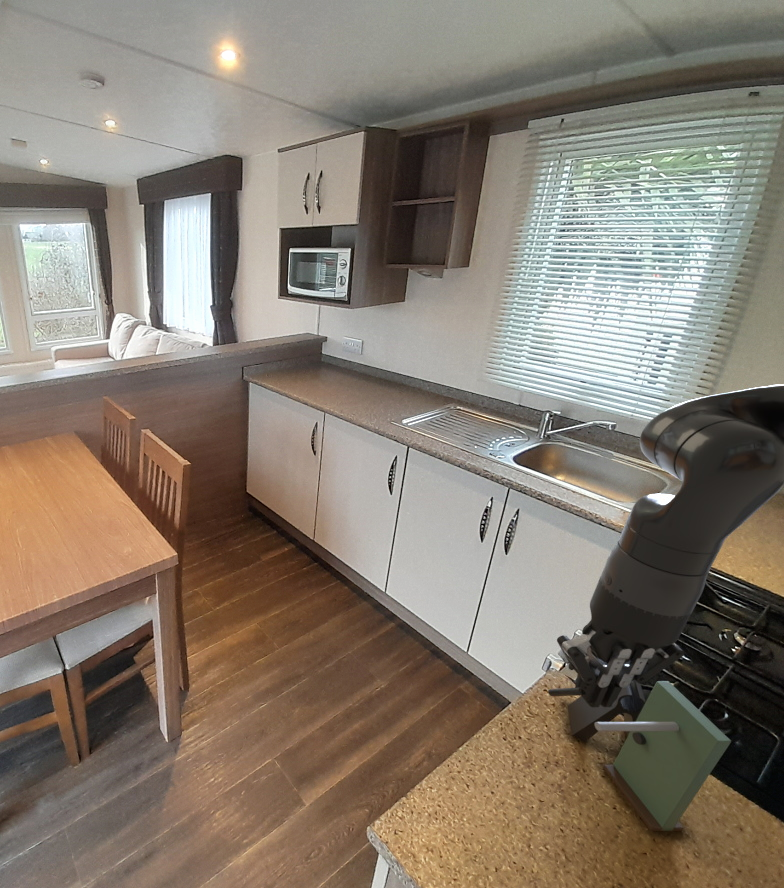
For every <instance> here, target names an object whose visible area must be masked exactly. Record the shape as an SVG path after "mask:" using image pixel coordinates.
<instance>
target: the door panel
mask: <svg viewBox="0 0 784 888" xmlns="http://www.w3.org/2000/svg"><path fill="white" fill-rule="evenodd" d="M645 701H646V703H645V705H644V707H643V709H642V711H641V712H640V714H639V716H638V718H637V720H636V722H624V721H610V722H595V728H596V729H597V730H598V732H625V731H630V733H629V735H628V737H627V739H626V738H625V741H624V742H623V744H622V746H621V748H620V751H619V752H618V755H617V756H616V758H615V760H614V761H613V764H603V766H602V769H603V770H604V771H605V773H606V774H607V775H608V776H609V778H610V779H611V780H612V782H613V783H614V784H615V786H616V787H617V788H618V790H619V792H621V793H622V795H623V797H624V798H625V799H626V800H627V802H629V804H630V805H631V807H632V808H633V809H634V811H635V812H636V814H637V815H638V816H639V818H640V819H641V820H642V821H643V822H644V824H645V825H646V826H647V828H648V829H649V830H650V831H651V832H665V831H666V832H682V831H683V830H684V826H683V825H682V823H680V820H681V818H682V817H683V815H684V814H685V812H686V811H687V809H688V808H689V807H690V805H691V803H692V801H693V800H694V798H695V797H696V795H697V794H698V792H699V791H700V790H701V788H702V786H703V785H704V783H705V781H707V779H708V777H709V776H710V775H711V773H712V771H713V770H714V768H715V767H716V766H717V764H718V762H719V761H720V759H721V758H722V757H723V755H724V753H725V752H726V751H727V749H728V747H729V746H730V744H731V743H732V740H731V739H730V737H728V736H727V735H725V733H724V732H723V731H722V730H720V728H718V727H717V726H716V725H715V724H714V723H713V722H712V721H711V720H710V719H709V718H708V717H707V716H706V715H705V714H704V713H703V712H701V710H699V709H698V708H697V707H696V706H695V705H694V704H693V703H692V702H691V701H690V700H689V699H688V698H687V697H686V696H684V694H683V693H681V692H680V690H679V689H677V688H676V687H675V686H674V685H673V684H672V683H671V682H670V681H669V680H658V681H655V684H654V686H653V688H652V690H651V691H650V693H649V695H648V697H647V699H646V700H645Z"/></svg>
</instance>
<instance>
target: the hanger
mask: <svg viewBox="0 0 784 888" xmlns="http://www.w3.org/2000/svg"><path fill="white" fill-rule="evenodd" d="M586 660H587V659H586ZM568 669H569V670H570V671H575V670H574V669H573V668H572V667H571V666H570V664H569V663H568ZM576 674H577V673H576ZM575 680H576V681H575V685H574V686H575V687H563V688H549V689H548V691H547V692H548V693H547V694H548V695H549V696H551V697H574V696H575V697H576V696H581V695H580V694H579V692H578V689H579V687H580V685H581V682H582V680H583V679H582V678H581V677H580V676H579V675H578V674H577V675H576V679H575Z"/></svg>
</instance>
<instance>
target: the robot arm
mask: <svg viewBox="0 0 784 888" xmlns="http://www.w3.org/2000/svg"><path fill="white" fill-rule="evenodd" d="M639 447H640V450H641V452H642V453H643V455H644V456H645V457H646V458H647V459H648V460H649V461H650V462H651V463H652V464H654V466H657V467H658V468H660V469H662V470H663V471H664V472H666V473H668V474H670V475H671V476H673V477H674V478H676V479H677V480H679V481H680V482H681V484H680V486H679V490H678V491H677V493H676V494H670V493H650V494H646V495H644V496H642V497H640V498H639V499H637V500H636V501H635V503H634V504H633V506H632V508H631V510H630V511H629V514H628V515H627V519H626V521H625V523H624V526H623V528H622V530H621V533H620V536H619V538H618V541H617V543H616V544H615V546H614V547H613V548H612V550H611V552H610V553H609V555H608V557H607V559H606V562H605V564H604V567H603V569H602V571H601V574H600V576H599V579H598V582H597V584H596V586H595V589H594V592H593V594H592V596H591V599H590V601H589V610H590V616H591V618H590V620H589V622H588V623H586V625H584V626H583V628H582V630H581V634H580V635H578V636H576V637H573V638H571V639H570V638H569V637H568V636H567V635H563V634H562V635H560V636H558V637H557V639H556V642H557V644H558V647H560V649H561V651H562V654H563V655H564V657H565V659H566V660H567V662H568V665H569V664H570V666H571V667H572V668H573V669H574V670H573V671H574V672H575V673H576V674H578V675H579V676H580V677H581V678H582V679H583V680H582V682H581V685H580V687H579V689H578V692H579V694H580V695H579V696H582V697H583V699H584V700H585V701H586V702H587V703H588V705H589V706H590V707H599V706H600V704H601V705H602V706H603V707H611V706H612V704H613V702H615V701H616V700H617V698H618V696H619V694H620V691H621V689H622V687H627V686H629V685H630V683H631V681H633V680H635V681H636V682H637V683H640V684H644V683H646V682H647V681H649V680H651V679H652V678H654V676H656V675H658V674H659V673H660V672H662V671H664V670H665V669H666V668H668V667H669V666H670V665H672V664H674V663H675V662H677V661H678V660H680V659H681V658H683V657H684V656H685V653H686V652H685V651H684V650H683V649H682V648H681V647H680V646H679V645H678V644H677V643H676V642H677V641H678V640H679V638H680V637H681V634H682V633H683V631H684V629H685V627H686V625H687V623H688V621H689V619H690V617H691V615H692V613H693V612H694V609H695V607H696V605H697V604H698V602H699V600H700V598H701V597H702V594H703V592H704V590H705V586H706V582H707V578H708V575H709V572H710V570H711V568H712V566H713V565H714V563H715V561H716V559H717V558H718V555H719V553H720V551H721V549H722V547H723V545H724V543H725V541H726V540H727V538H728V537H729V536H731V534H732V533H734V532H735V531H736V530H738V528H740V527H741V526H742V525H743V524H744V523H745V522H746V521H747V520H749V519H750V518H751V517H752V516H753V515H754V514H755V513H756V512H757V511H759V510H760V509H761V508H762V507H764V505H765V504H767V502H769V501H770V500H771V499H772V498H774V496H775V495H776V494H778V493H779V491H781V489H783V487H784V383H783V384H774V385H768V386H767V385H766V386H759V387H753V388H747V389H742V390H736V391H730V392H724V393H719V394H712V395H708V396H702V397H698V398H694V399H690V400H687V401H684V402H681V403H678V404H676V405H673V406H671V407H669V408H667V409H664V410H663V411H661V412H660V413H659V414H657V415H656V416H654V417H653V418H652V419H651V420H650V421H649V422H648V423H647V424H646V425H645V426H644V428H643V429H642V431H641V433H640V436H639ZM586 659H587V660H586ZM647 664H648V665H647ZM646 665H647V666H646ZM598 668H599V669H598Z"/></svg>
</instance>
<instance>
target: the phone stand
mask: <svg viewBox="0 0 784 888" xmlns="http://www.w3.org/2000/svg"><path fill="white" fill-rule="evenodd" d="M641 684H642V683H637V682H636V681H635V680H633V681H631V683H630V685H629V686H627V687H622V689H621V691H620V694H619V696H618V698H617V700H616V701H615V702H613V704H612V706H611V707H603V706H602V705H601V704H600V706H599V707H590V706H589V705H588V703H587V702H586V701H585V700H584V699H583V697H582V696H581V695H579V697H577V698H576V699H575V700H573V701H572V702H570V703H569V704H567V711H568V718H569V719H568V720H569V728H570V734H571V737H573V738H575V739H578V740H581V741H584V742H588V740H590V739H591V738H592V737H593V736H595V735H596V734H597V733H599V731H598V730H597V729H596V728H595V722H612V721H613V720H614V719H616V718H617V716H619V715H621V714H623V722H636V720H637V718H638V716H639V714H640V712H641V711H642V709H643V707H644V705H645V703H646V701H647V700H646V697H645V694H644V690H643V687H642V685H641ZM629 733H630V731H624V734H625V740H626V739H627V737H628V735H629Z"/></svg>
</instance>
